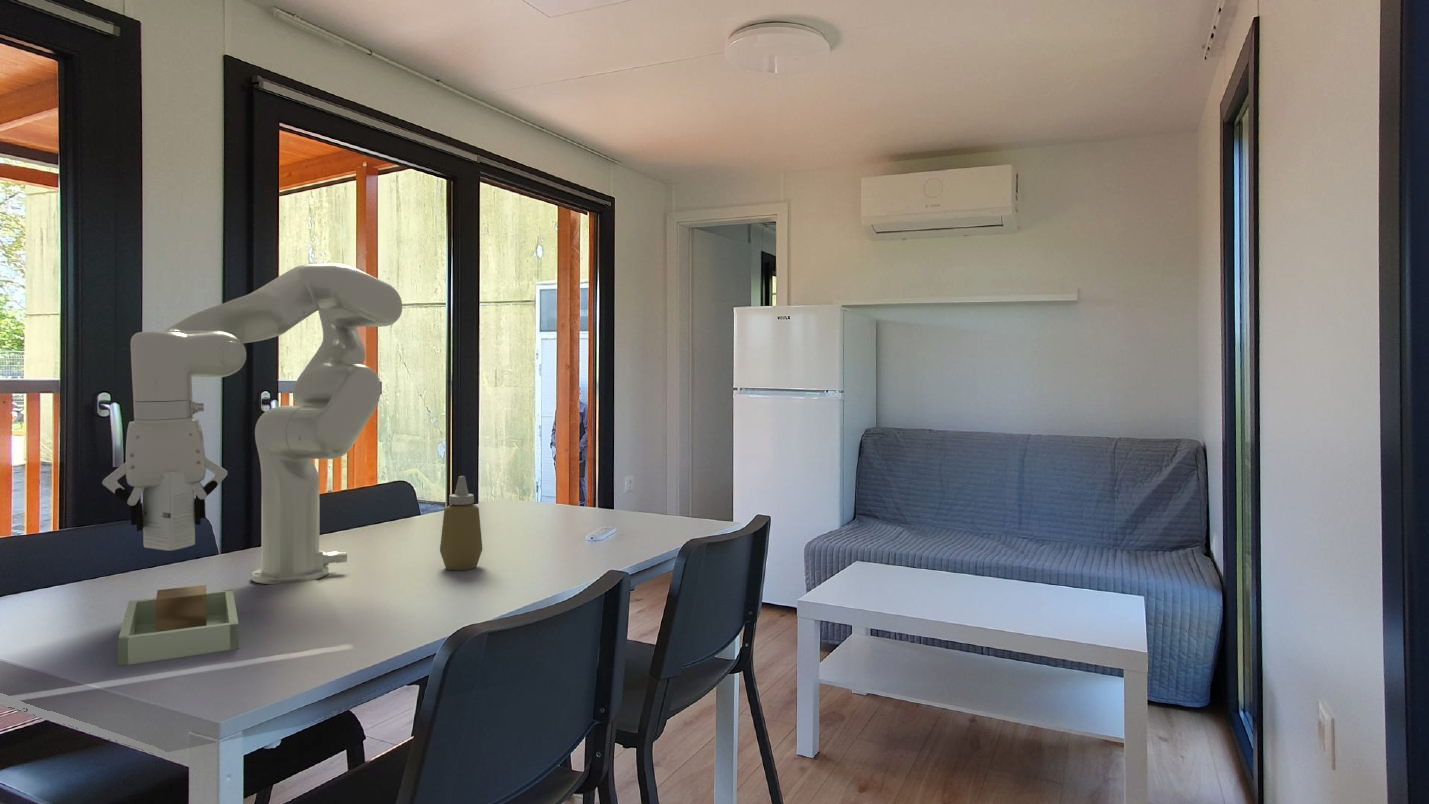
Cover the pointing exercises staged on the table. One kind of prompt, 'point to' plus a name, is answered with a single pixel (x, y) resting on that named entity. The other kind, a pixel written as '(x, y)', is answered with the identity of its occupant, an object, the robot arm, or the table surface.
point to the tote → (177, 632)
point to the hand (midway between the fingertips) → (169, 525)
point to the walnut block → (181, 608)
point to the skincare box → (169, 513)
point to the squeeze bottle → (461, 530)
